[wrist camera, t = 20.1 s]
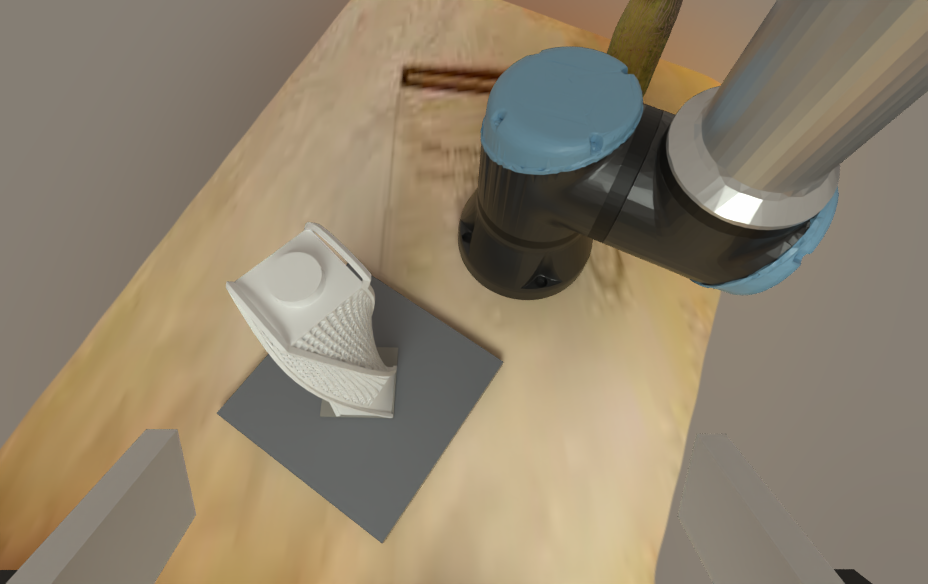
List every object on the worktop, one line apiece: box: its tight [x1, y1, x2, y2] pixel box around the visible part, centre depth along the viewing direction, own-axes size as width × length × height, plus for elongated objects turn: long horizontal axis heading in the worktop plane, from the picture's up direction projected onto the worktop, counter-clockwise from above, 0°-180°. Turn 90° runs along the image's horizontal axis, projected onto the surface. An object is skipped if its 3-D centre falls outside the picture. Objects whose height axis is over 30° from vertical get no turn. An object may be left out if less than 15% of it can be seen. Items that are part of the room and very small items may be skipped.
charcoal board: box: [217, 263, 503, 543], centre depth 51 cm, size 20×20×2 cm
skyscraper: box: [226, 222, 398, 418], centre depth 37 cm, size 8×8×28 cm
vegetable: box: [607, 0, 683, 97], centre depth 58 cm, size 6×6×20 cm
